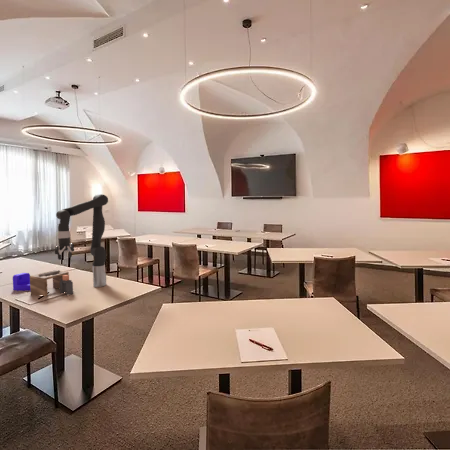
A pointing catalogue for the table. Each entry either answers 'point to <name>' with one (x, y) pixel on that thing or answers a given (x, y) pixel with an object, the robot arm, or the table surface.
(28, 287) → the bracket
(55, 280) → the shelf rack
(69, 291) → the dark grey orange block
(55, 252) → the robot arm
